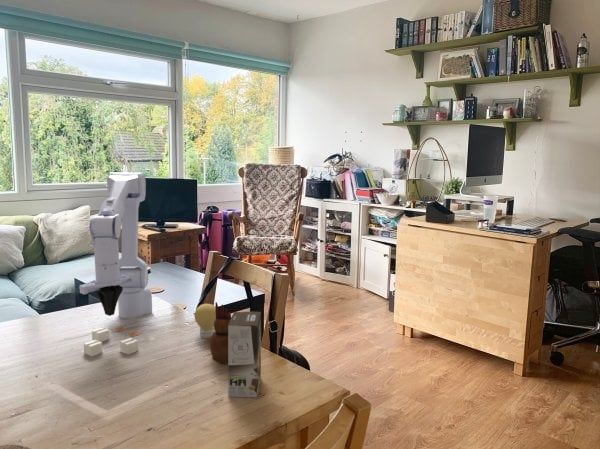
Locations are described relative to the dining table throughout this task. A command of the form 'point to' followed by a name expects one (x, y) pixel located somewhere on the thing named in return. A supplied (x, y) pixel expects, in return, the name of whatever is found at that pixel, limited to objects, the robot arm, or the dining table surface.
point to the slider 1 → (100, 334)
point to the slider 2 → (129, 346)
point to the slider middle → (93, 348)
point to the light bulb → (205, 319)
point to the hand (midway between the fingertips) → (109, 314)
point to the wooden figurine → (220, 336)
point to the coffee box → (244, 354)
